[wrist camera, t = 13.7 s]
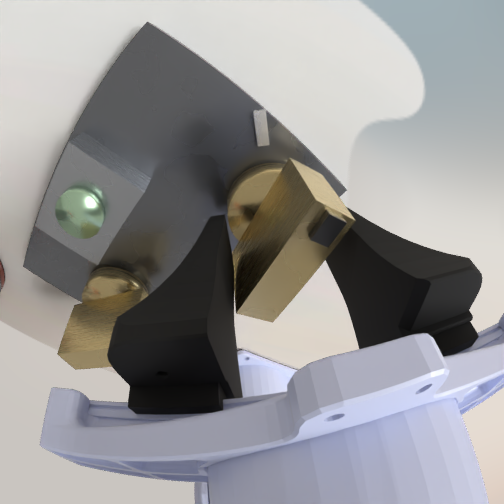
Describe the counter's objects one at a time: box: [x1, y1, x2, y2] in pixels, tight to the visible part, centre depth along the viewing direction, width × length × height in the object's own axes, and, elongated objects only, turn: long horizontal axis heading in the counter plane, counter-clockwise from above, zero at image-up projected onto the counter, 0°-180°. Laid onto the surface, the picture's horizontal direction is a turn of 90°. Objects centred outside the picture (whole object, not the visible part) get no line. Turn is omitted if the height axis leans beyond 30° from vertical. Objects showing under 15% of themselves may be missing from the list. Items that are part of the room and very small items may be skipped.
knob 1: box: [58, 267, 149, 369], centre depth 14 cm, size 5×4×5 cm
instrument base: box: [23, 22, 347, 302], centre depth 13 cm, size 12×16×3 cm
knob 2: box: [227, 158, 356, 322], centre depth 11 cm, size 5×4×5 cm
